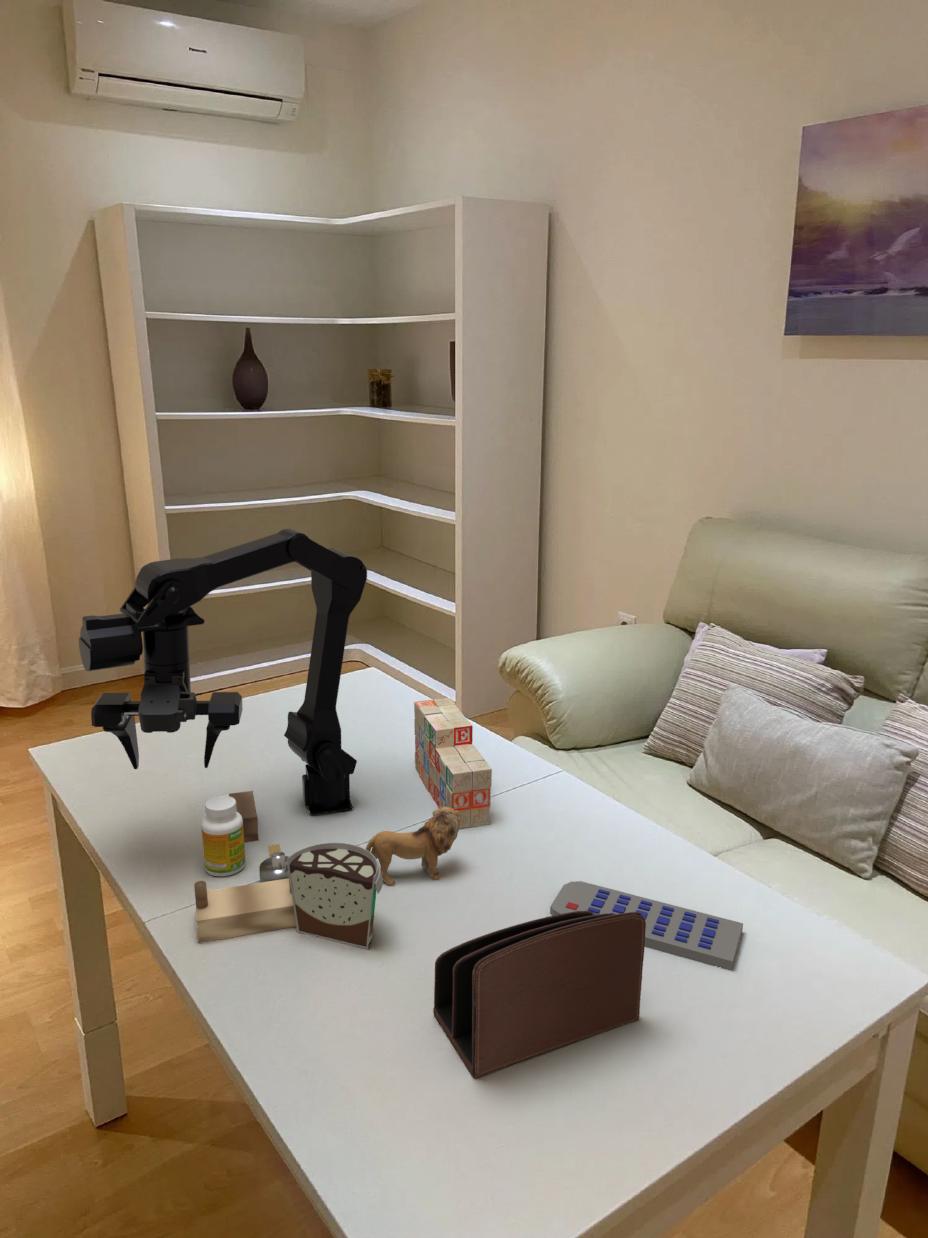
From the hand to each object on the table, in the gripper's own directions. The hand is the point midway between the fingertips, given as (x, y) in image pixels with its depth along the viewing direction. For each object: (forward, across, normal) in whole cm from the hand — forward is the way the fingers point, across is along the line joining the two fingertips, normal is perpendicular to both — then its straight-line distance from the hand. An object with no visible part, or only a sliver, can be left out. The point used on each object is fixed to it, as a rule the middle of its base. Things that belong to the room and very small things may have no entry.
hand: (171, 767), depth 125 cm
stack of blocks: (+11, +40, +12) cm, 43 cm away
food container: (+12, +23, -20) cm, 33 cm away
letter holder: (+12, +43, -39) cm, 59 cm away
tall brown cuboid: (+12, +9, +5) cm, 16 cm away
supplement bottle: (+13, +7, -5) cm, 16 cm away
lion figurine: (+12, +32, -10) cm, 36 cm away
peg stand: (+12, +12, -18) cm, 24 cm away
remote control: (+12, +60, -25) cm, 66 cm away
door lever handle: (+12, +15, -8) cm, 20 cm away
